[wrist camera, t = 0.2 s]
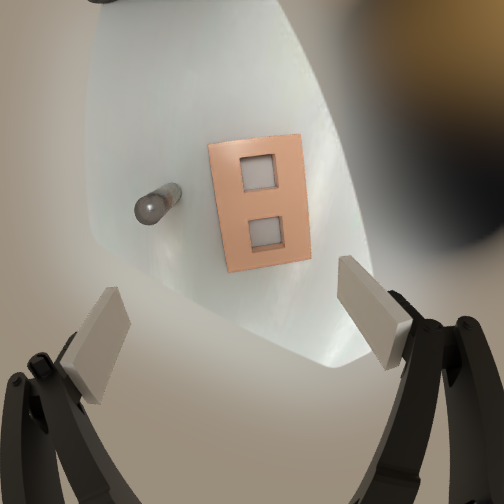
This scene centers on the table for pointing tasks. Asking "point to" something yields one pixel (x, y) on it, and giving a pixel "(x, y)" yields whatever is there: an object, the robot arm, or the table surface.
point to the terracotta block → (261, 201)
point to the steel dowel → (157, 204)
